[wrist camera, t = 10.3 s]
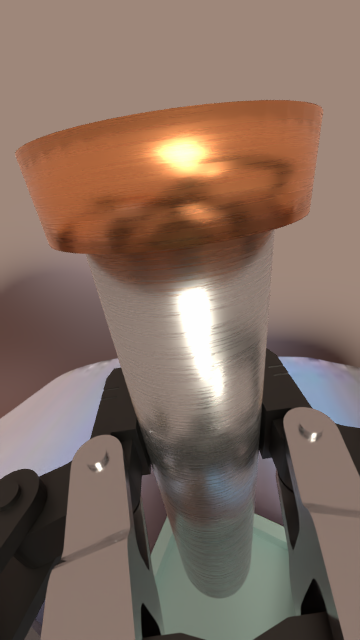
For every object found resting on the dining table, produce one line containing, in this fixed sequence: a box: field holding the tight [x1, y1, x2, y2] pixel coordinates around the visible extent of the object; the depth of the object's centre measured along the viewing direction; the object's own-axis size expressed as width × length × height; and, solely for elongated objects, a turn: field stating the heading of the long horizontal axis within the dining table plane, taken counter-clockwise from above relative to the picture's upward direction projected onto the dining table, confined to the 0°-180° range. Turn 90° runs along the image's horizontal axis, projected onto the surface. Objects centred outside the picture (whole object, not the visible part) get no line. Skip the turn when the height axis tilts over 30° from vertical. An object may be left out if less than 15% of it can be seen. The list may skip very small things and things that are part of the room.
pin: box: [15, 100, 323, 599], centre depth 8 cm, size 5×5×17 cm
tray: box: [150, 513, 295, 640], centre depth 18 cm, size 12×12×2 cm
